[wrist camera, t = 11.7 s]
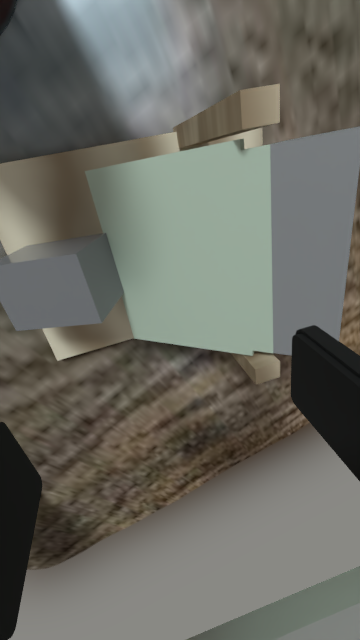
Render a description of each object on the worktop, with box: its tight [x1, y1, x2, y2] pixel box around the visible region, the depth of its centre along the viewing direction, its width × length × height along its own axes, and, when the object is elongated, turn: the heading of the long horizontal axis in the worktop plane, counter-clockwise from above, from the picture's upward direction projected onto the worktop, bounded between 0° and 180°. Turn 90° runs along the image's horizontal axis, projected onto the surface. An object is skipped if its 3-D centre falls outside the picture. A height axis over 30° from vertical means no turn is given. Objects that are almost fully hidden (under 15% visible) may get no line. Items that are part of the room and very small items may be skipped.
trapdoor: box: [85, 126, 360, 356], centre depth 21 cm, size 16×14×5 cm
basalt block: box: [0, 233, 124, 331], centre depth 22 cm, size 5×5×7 cm
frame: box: [0, 84, 280, 385], centre depth 22 cm, size 23×18×12 cm
